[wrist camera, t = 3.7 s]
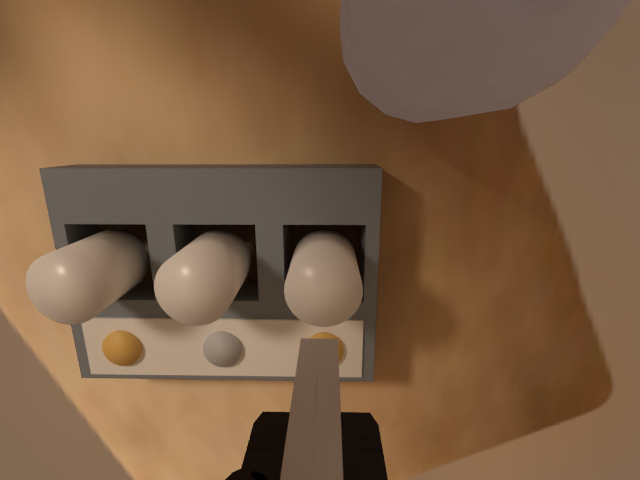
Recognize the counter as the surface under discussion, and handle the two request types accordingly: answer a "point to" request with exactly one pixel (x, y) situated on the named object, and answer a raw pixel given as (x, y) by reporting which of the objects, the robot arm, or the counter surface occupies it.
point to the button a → (86, 276)
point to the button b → (203, 278)
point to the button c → (323, 279)
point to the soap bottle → (466, 51)
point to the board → (254, 296)
